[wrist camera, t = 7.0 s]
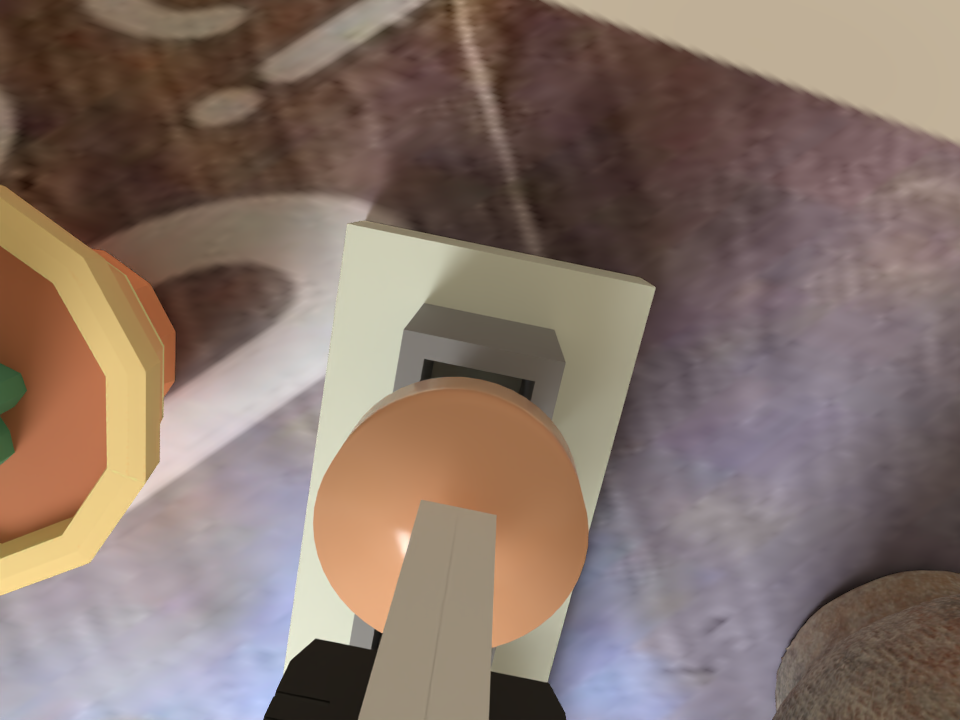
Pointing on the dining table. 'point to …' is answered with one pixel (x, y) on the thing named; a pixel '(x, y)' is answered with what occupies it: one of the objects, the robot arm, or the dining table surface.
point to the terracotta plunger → (454, 497)
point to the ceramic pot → (878, 653)
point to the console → (469, 376)
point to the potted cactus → (72, 394)
